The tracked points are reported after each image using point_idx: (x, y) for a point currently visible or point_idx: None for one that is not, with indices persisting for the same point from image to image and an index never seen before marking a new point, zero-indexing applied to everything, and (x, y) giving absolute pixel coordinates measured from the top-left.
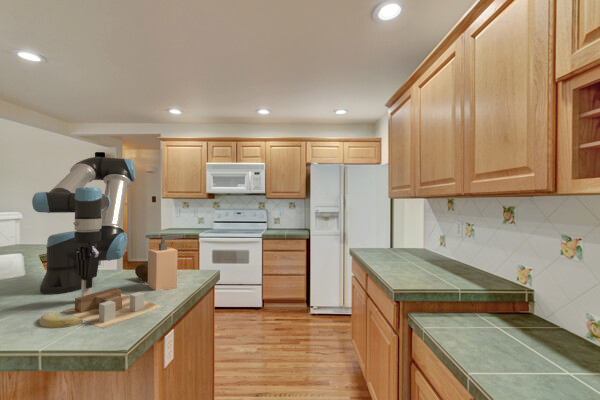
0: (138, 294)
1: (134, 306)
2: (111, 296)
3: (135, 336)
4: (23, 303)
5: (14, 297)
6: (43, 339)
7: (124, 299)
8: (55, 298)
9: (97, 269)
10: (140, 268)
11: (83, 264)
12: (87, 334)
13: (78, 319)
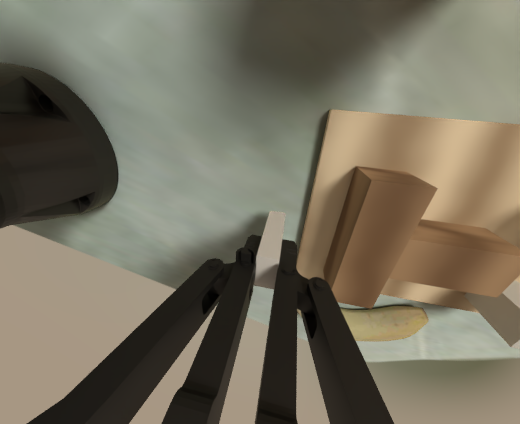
0: None
1: None
2: (465, 264)
3: None
4: (142, 256)
5: (79, 241)
6: (388, 341)
7: (414, 156)
8: (154, 215)
9: (348, 329)
10: None
11: (232, 365)
12: (473, 322)
13: (424, 324)
